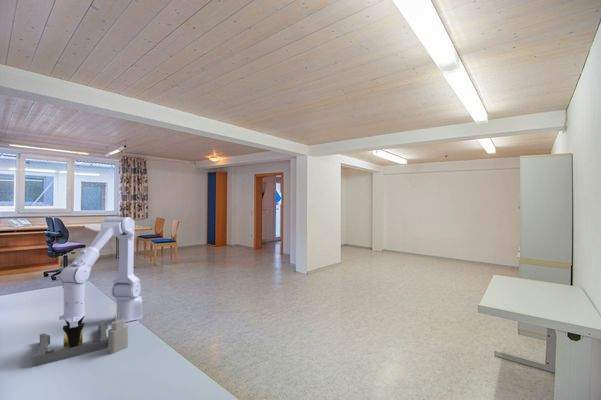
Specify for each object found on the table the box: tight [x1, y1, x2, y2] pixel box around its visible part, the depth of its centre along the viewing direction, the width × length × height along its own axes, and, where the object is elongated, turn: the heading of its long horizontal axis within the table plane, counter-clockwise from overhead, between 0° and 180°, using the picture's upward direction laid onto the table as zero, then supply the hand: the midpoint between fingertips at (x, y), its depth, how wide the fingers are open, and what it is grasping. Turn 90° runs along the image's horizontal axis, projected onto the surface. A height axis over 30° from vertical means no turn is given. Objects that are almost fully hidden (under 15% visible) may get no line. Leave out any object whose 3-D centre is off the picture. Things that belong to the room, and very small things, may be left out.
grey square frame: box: [31, 320, 109, 368], centre depth 101 cm, size 20×19×3 cm
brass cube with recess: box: [63, 330, 84, 347], centre depth 99 cm, size 5×4×5 cm
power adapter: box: [107, 314, 129, 354], centre depth 99 cm, size 3×5×12 cm, turn 153°
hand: (74, 341), depth 99 cm, fingers open, 7 cm apart
